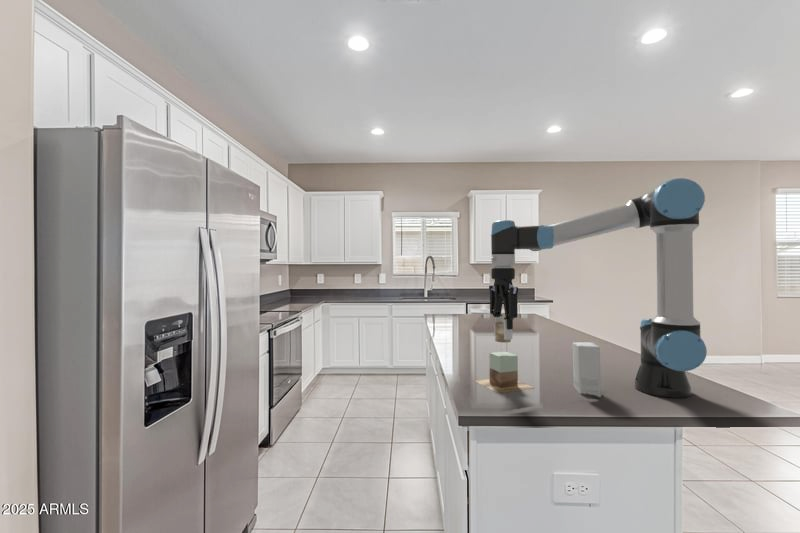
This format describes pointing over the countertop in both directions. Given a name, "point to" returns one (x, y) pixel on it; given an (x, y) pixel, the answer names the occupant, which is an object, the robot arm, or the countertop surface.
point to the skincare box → (586, 368)
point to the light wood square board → (499, 390)
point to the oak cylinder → (500, 332)
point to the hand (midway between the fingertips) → (503, 337)
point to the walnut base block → (503, 378)
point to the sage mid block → (503, 361)
